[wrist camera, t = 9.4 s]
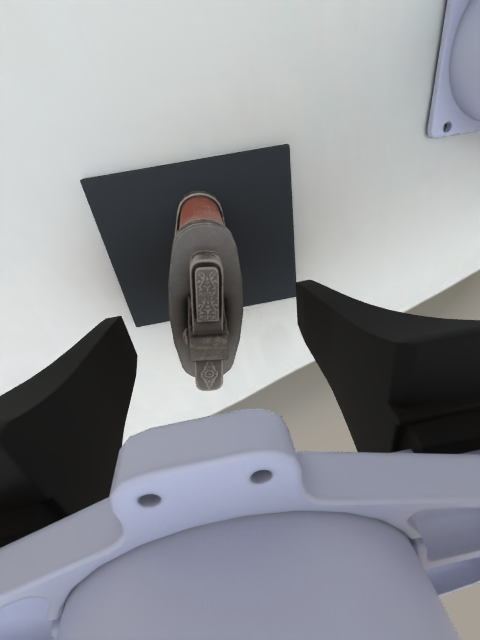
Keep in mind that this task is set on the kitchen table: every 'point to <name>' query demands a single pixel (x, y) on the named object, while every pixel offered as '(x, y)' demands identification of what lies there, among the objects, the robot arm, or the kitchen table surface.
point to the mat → (161, 214)
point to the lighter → (204, 291)
